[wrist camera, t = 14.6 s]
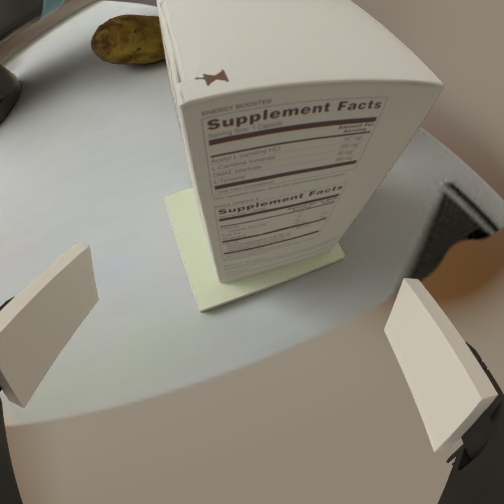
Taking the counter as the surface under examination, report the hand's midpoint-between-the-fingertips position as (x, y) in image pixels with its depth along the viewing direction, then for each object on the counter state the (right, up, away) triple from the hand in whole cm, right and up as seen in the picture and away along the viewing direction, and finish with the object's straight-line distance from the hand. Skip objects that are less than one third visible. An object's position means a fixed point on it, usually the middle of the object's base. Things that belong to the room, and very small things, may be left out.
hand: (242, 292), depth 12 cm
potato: (-14, +28, +21) cm, 38 cm away
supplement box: (+1, +5, +13) cm, 13 cm away
